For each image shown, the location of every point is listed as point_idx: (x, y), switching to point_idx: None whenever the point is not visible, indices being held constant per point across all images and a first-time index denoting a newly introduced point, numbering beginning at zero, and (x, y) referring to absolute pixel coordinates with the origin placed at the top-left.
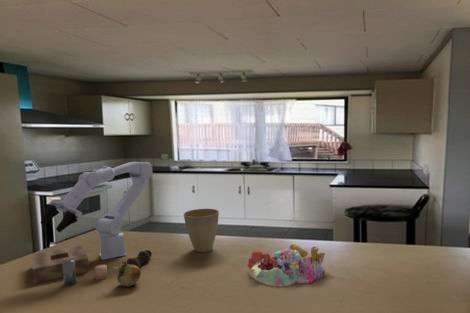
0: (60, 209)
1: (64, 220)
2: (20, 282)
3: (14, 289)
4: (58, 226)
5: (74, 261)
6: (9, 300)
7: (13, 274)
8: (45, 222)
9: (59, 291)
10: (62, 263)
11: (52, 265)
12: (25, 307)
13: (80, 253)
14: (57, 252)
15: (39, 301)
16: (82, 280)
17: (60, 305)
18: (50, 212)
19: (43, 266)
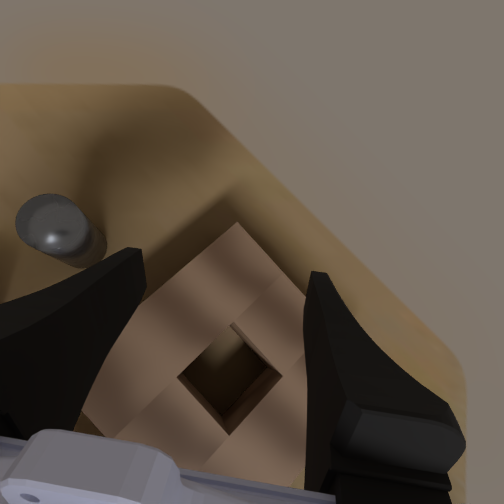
0: (220, 475)
1: (48, 290)
2: (280, 237)
3: (255, 189)
4: (116, 256)
5: (18, 228)
6: (207, 125)
7: (359, 292)
8: (306, 311)
9: (83, 186)
10: (70, 201)
11: (182, 268)
12: (122, 89)
13: (145, 437)
14: (281, 423)
15: (105, 121)
16: (48, 278)
17: (10, 100)
18: (323, 377)
19: (212, 251)
